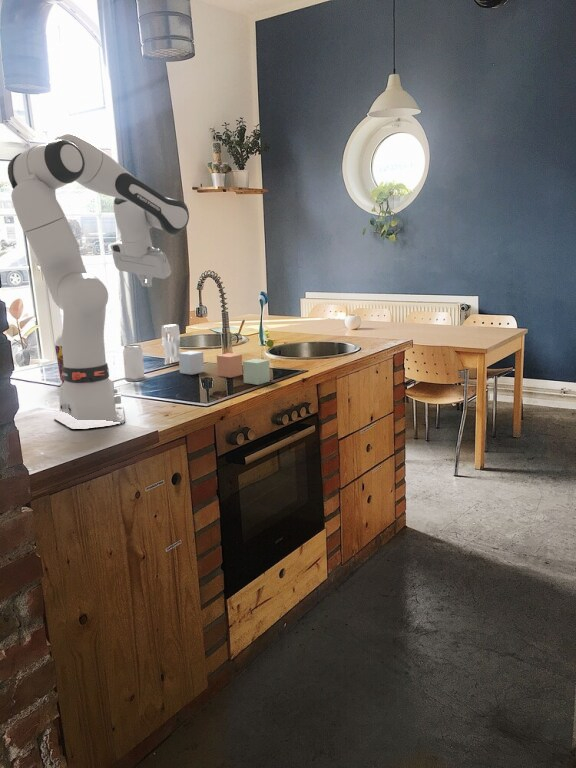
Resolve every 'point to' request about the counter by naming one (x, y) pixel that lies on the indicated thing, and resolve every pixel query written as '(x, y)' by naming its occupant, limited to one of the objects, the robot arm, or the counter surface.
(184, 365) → the bluegrey block
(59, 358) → the smoothie
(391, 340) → the counter surface
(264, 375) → the sage block
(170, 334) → the beer glass
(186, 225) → the robot arm
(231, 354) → the terracotta block
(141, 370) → the can
